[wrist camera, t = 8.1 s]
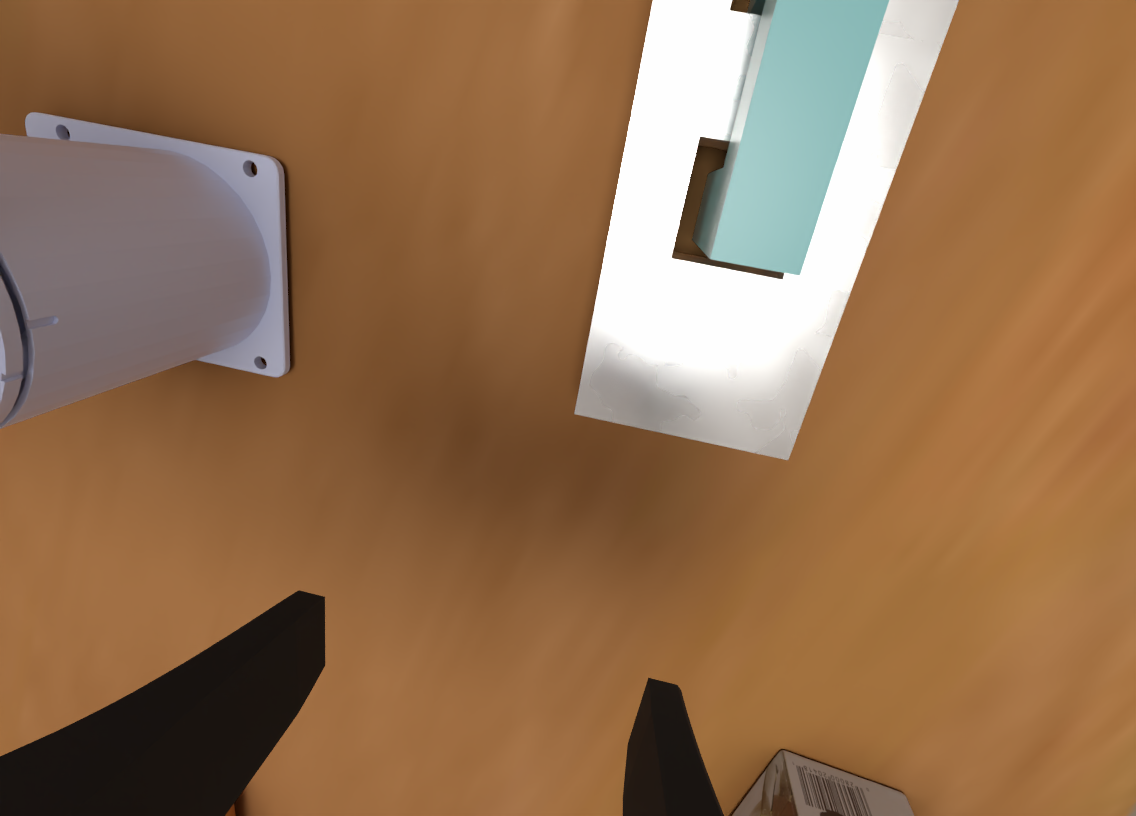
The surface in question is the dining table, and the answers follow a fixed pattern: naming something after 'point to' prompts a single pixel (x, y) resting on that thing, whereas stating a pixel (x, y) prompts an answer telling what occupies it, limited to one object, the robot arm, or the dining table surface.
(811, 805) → the coffee box
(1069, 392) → the dining table surface
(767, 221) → the teal rectangular plank
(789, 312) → the white slotted slab
